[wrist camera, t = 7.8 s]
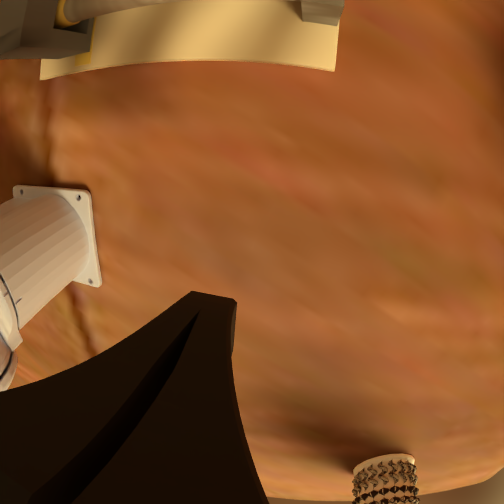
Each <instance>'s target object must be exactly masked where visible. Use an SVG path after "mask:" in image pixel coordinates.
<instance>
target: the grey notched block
mask: <svg viewBox="0 0 504 504" xmlns="http://www.w3.org/2000/svg"><path fill="white" fill-rule="evenodd" d="M57 5H58V0H1V3H0V59H61V58H65V57H69V56H73V55H77V54H82V53H86V52H90V45H91V37H92V29H93V23H94V17H93V18H89V19H86V20H82V21H80V22H79V23H78V24H75V25H72V26H68V27H65V28H62V29H53V27H54V21H55V15H56V10H57Z"/></svg>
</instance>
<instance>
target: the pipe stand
mask: <svg viewBox="0 0 504 504" xmlns="http://www.w3.org/2000/svg"><path fill="white" fill-rule="evenodd" d="M343 8H344V0H58V5H57V10H56V15H55V21H54V27H53V29H62V28H65V27H68V26H72V25H75V24H78V23H79V22H80V21H82V20H86V19H89V18H93V17H94V23H93V29H92V37H91V45H90V52H86V53H82V54H77V55H73V56H69V57H65V58H61V59H42V60H41V71H40V80H47V79H51V78H55V77H59V76H64V75H69V74H74V73H79V72H84V71H90V70H95V69H102V68H108V67H116V66H124V65H132V64H142V63H154V62H170V61H244V62H260V63H272V64H282V65H291V66H299V67H307V68H314V69H320V70H326V71H332V72H334V71H335V63H336V53H337V42H338V31H339V20H340V17H341V14H342V11H343Z"/></svg>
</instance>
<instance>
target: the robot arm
mask: <svg viewBox="0 0 504 504" xmlns="http://www.w3.org/2000/svg"><path fill="white" fill-rule="evenodd" d="M79 195H80V197H81V199H80V198H79ZM13 197H14V198H12V199H10V200H8V201H6V202H4V203H2V204H0V504H269V502H268V500H267V497H266V495H265V492H264V490H263V487H262V485H261V482H260V480H259V477H258V474H257V471H256V468H255V465H254V462H253V459H252V456H251V453H250V450H249V447H248V443H247V440H246V437H245V433H244V429H243V425H242V421H241V417H240V412H239V408H238V403H237V398H236V392H235V386H234V378H233V370H232V359H231V356H232V352H233V345H234V332H235V320H236V309H237V302H236V301H235V300H234V299H232V298H227V297H221V296H216V295H211V294H206V293H201V292H196V291H191V292H190V293H188V294H187V295H185V296H184V297H183V298H181V299H180V300H179V301H177V302H176V303H175V304H173V305H172V306H171V307H169V308H168V309H167V310H165V311H164V312H163V313H161V314H160V315H159V316H157V317H156V318H154V319H153V320H152V321H150V322H149V323H147V324H146V325H145V326H143V327H142V328H140V329H139V330H137V331H136V332H134V333H133V334H131V335H130V336H128V337H127V338H125V339H123V340H122V341H120V342H119V343H117V344H116V345H114V346H112V347H111V348H109V349H107V350H106V351H104V352H102V353H100V354H98V355H97V356H95V357H93V358H91V359H89V360H87V361H85V362H83V363H81V364H79V365H76V366H74V367H72V368H70V369H67V370H65V371H62V372H60V373H57V374H55V375H52V376H50V377H47V378H45V379H42V380H39V381H36V382H33V383H30V384H27V385H24V386H20V387H17V388H13V389H9V390H7V389H8V387H9V386H10V384H11V382H12V380H13V377H14V374H15V371H16V368H17V363H18V357H17V354H16V352H15V349H16V348H17V347H18V346H19V345H20V343H21V342H22V341H23V339H22V337H21V335H20V333H19V330H20V329H21V328H22V327H23V326H24V325H25V324H26V323H27V322H28V321H29V320H30V319H31V318H32V317H33V316H34V315H35V314H36V313H38V312H39V311H40V310H41V309H42V308H43V307H44V306H45V305H46V304H47V303H48V302H49V301H50V300H51V299H52V298H53V297H54V296H56V295H57V294H58V293H59V292H60V291H61V290H62V289H63V288H64V287H65V286H66V285H68V284H69V283H70V282H71V281H76V282H79V283H83V284H86V285H90V286H94V287H100V286H101V284H102V278H101V272H100V266H99V260H98V253H97V246H96V238H95V230H94V222H93V212H92V201H91V194H90V193H89V191H87V190H81V189H69V188H56V187H42V186H27V185H16V186H14V187H13Z"/></svg>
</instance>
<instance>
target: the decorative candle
mask: <svg viewBox="0 0 504 504" xmlns="http://www.w3.org/2000/svg"><path fill="white" fill-rule="evenodd" d="M414 461H415V459H414V457H413V456H412V455H409V454H404V453H399V454H388V455H382V456H378V457H375V458H371V459H368V460H366V461H364V462H362V463H360V464H358V465H357V466H356V467H355V468H354V469H353V473H354V478H355V479H354V480H353V481H352V482H353V483H354V489H353V490H352V492H353V493H354V494H353V495H354V496H355V497H356V498H355V499H354V501H353V502H352V504H418V503H419V501H420V500H419V498H416V497H415V496H416V495H417V494H418V491H419V489H418V488H415V485H416V483H417V480H418V477H417V476H416V475H415V473H416V466H415V465H413V464H414Z"/></svg>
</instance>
